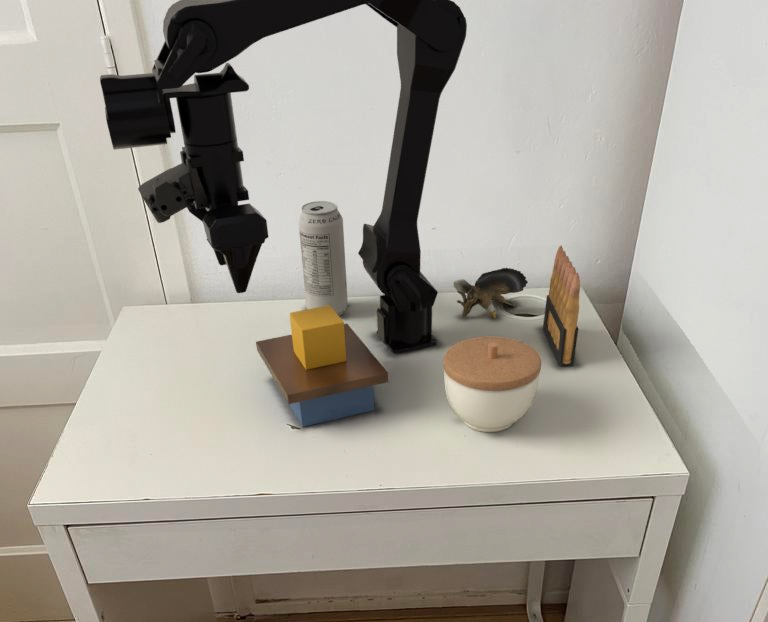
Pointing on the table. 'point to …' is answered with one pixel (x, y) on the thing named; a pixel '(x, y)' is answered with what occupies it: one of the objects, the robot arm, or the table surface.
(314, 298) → the energy drink can
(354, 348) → the board
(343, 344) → the yellow block
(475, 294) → the brown legged piece
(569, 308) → the ammunition clip
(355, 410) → the blue box
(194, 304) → the table surface
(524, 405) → the trinket box
